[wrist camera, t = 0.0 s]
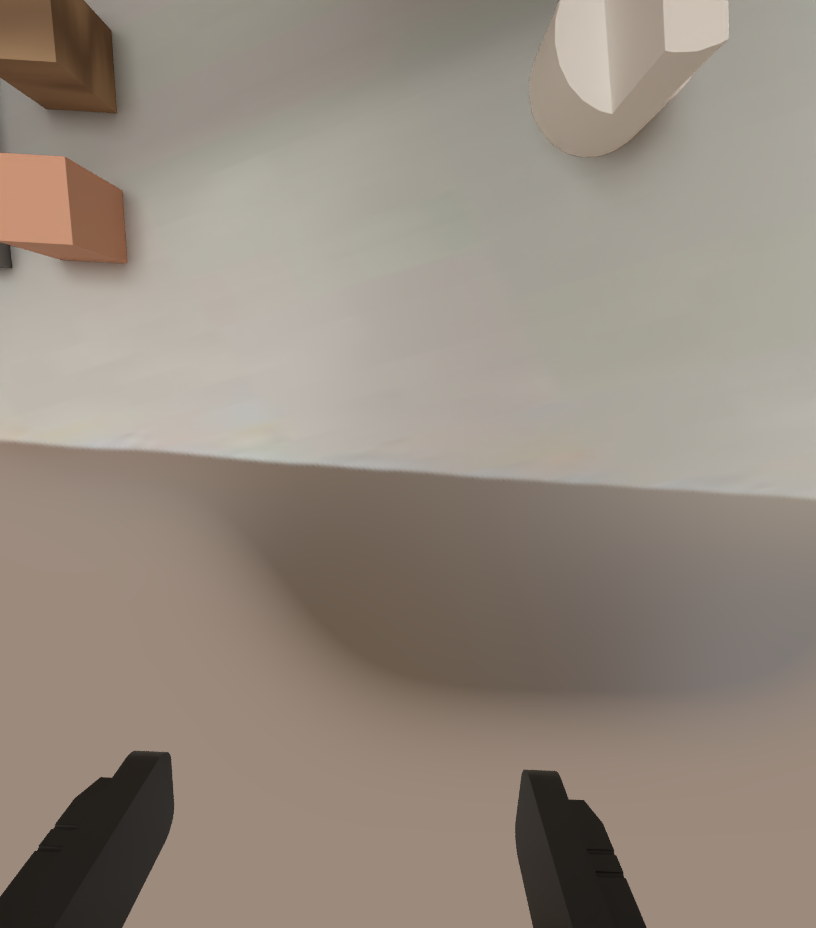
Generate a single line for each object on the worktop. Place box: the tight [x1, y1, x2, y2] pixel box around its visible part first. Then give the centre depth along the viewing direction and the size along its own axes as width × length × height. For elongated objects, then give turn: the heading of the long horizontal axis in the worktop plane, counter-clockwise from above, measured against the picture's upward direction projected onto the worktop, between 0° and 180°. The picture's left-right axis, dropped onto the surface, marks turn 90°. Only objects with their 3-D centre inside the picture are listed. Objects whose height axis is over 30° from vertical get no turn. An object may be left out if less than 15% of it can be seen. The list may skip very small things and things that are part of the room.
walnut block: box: [0, 0, 117, 113], centre depth 30 cm, size 5×5×6 cm
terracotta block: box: [0, 153, 127, 263], centre depth 32 cm, size 5×5×6 cm
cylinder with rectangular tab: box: [529, 0, 729, 157], centre depth 27 cm, size 9×9×12 cm
